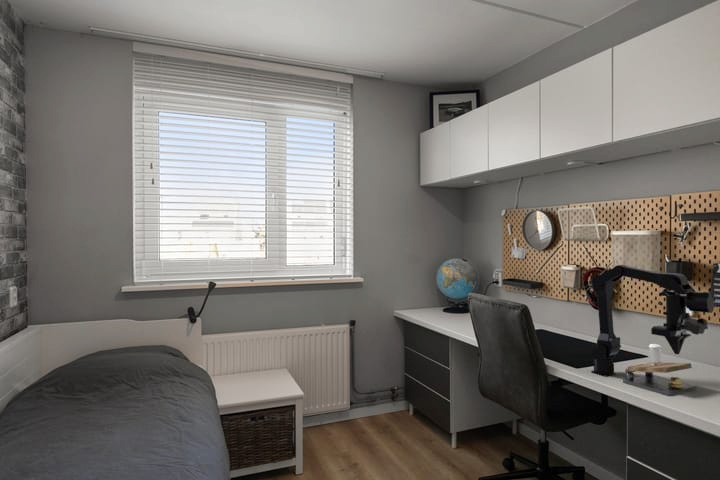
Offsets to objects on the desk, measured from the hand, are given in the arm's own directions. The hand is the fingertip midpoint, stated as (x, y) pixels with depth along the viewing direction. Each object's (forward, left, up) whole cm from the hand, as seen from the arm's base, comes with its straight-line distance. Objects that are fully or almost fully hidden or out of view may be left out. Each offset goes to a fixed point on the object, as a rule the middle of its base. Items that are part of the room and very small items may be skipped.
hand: (676, 354), depth 152 cm
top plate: (-7, 0, -8) cm, 10 cm away
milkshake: (-23, +26, -13) cm, 37 cm away
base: (-6, 0, -13) cm, 15 cm away
